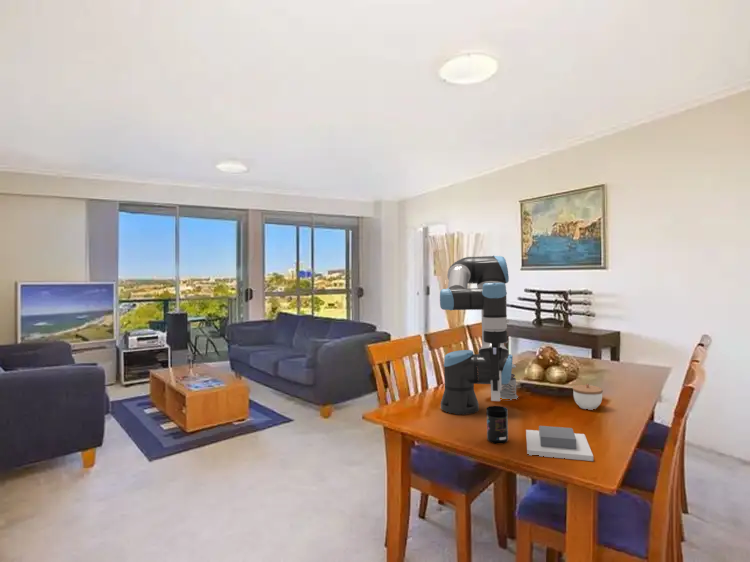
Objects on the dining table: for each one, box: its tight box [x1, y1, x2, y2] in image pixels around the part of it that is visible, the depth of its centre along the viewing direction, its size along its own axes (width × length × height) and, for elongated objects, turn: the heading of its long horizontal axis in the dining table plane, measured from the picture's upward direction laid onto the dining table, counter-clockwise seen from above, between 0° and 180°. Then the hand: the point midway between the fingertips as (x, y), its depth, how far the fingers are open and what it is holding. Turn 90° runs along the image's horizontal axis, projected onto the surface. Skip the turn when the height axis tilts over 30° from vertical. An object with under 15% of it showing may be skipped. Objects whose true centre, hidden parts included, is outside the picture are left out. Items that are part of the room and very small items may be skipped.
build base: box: [525, 425, 594, 462], centre depth 140 cm, size 18×18×4 cm
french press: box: [500, 340, 519, 401], centre depth 197 cm, size 10×12×25 cm
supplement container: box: [485, 405, 509, 444], centre depth 147 cm, size 7×7×10 cm
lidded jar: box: [572, 383, 604, 411], centre depth 179 cm, size 11×11×9 cm
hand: (496, 395), depth 146 cm, fingers open, 13 cm apart
